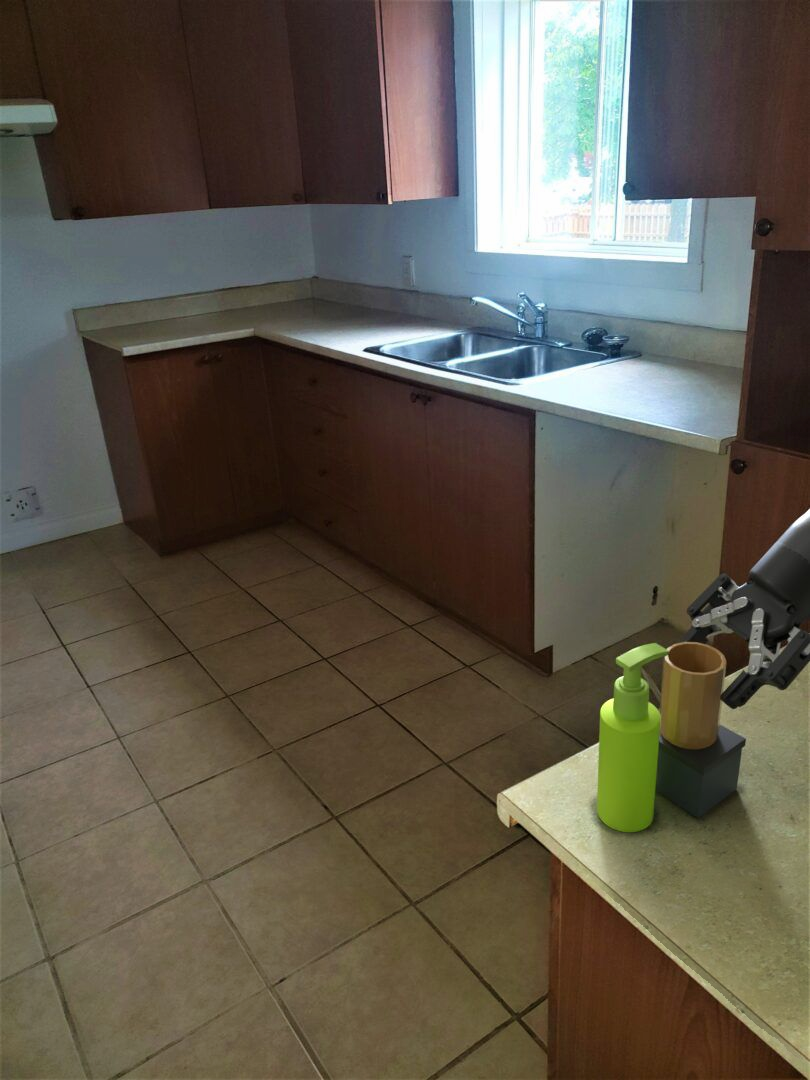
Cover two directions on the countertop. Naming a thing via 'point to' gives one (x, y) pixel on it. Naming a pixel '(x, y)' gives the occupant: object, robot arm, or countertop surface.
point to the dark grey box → (699, 772)
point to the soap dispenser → (629, 746)
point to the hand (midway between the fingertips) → (701, 680)
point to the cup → (692, 695)
